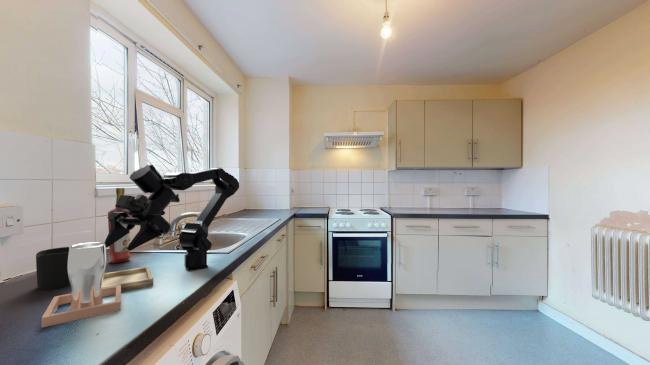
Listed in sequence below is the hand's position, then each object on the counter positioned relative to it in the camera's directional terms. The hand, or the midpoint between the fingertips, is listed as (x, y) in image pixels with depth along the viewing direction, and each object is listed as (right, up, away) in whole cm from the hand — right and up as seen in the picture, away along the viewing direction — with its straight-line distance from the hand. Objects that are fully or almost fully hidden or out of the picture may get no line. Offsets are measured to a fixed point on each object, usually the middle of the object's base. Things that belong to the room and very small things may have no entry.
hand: (116, 248), depth 70 cm
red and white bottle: (-23, -13, +31) cm, 41 cm away
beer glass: (-2, -13, -6) cm, 15 cm away
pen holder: (-23, -13, +8) cm, 28 cm away
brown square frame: (-2, -13, -6) cm, 14 cm away
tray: (-5, -13, +9) cm, 17 cm away
